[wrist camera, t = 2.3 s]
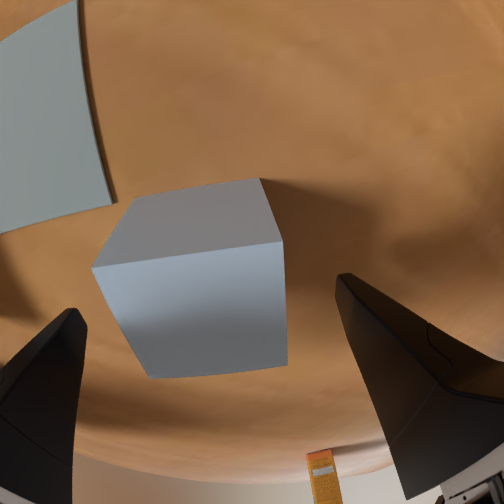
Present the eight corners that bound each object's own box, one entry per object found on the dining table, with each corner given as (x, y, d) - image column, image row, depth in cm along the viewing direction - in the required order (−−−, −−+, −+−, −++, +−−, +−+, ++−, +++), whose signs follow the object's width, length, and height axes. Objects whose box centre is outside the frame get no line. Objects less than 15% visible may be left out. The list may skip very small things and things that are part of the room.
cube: (268, 279, 14) (287, 365, 10) (165, 292, 14) (150, 378, 10) (258, 177, 11) (282, 241, 7) (135, 197, 11) (91, 268, 7)
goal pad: (113, 202, 11) (111, 204, 11) (-17, 238, 11) (-18, 239, 11) (78, -1, 6) (76, -2, 6) (-54, 88, 6) (-56, 88, 6)
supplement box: (303, 454, 29) (318, 524, 20) (331, 447, 29) (348, 516, 20) (304, 460, 31) (317, 524, 22) (330, 454, 31) (345, 517, 22)
